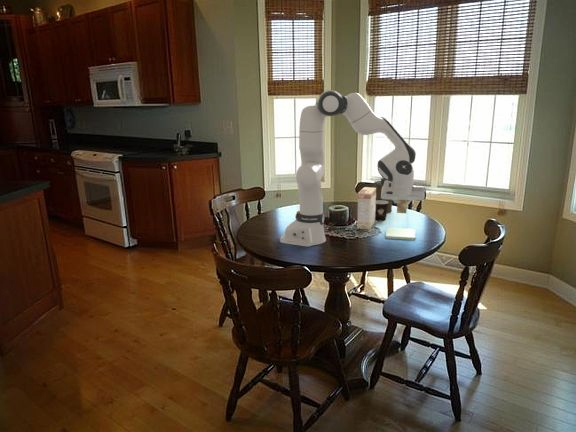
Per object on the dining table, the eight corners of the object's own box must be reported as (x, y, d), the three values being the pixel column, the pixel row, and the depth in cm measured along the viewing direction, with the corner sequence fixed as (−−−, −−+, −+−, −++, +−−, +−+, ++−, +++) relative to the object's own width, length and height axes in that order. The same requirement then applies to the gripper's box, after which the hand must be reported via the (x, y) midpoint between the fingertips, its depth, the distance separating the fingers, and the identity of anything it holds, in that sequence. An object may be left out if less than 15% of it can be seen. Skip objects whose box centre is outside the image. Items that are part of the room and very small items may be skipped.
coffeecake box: (363, 220, 236) (363, 186, 231) (375, 221, 234) (376, 187, 228) (356, 228, 223) (357, 192, 218) (370, 229, 220) (371, 193, 215)
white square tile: (385, 238, 207) (385, 235, 207) (386, 229, 220) (386, 227, 220) (415, 240, 203) (415, 237, 203) (414, 231, 216) (414, 228, 216)
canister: (393, 209, 258) (394, 177, 252) (389, 213, 249) (391, 180, 243) (375, 207, 262) (376, 176, 257) (371, 212, 253) (372, 179, 247)
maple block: (396, 212, 207) (397, 195, 204) (397, 210, 211) (397, 193, 209) (406, 213, 206) (407, 195, 203) (406, 210, 210) (407, 193, 207)
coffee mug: (389, 218, 240) (390, 201, 237) (384, 222, 233) (385, 204, 230) (370, 215, 246) (371, 199, 243) (364, 219, 239) (365, 202, 236)
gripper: (426, 181, 195) (424, 197, 206) (381, 180, 200) (381, 195, 212) (426, 193, 192) (424, 208, 204) (380, 191, 197) (380, 206, 209)
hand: (402, 202), depth 208 cm, fingers closed on maple block, 4 cm apart
